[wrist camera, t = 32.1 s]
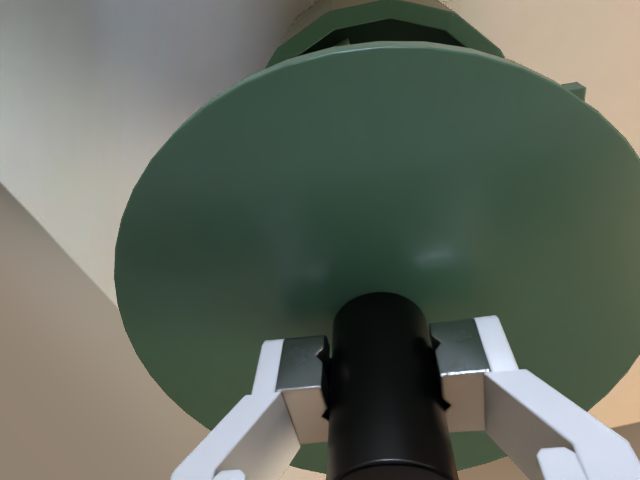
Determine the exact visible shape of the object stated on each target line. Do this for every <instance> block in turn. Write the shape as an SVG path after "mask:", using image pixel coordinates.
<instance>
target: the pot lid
mask: <svg viewBox="0 0 640 480" xmlns="http://www.w3.org/2000/svg"><path fill="white" fill-rule="evenodd" d="M114 280H115V288H116V295H117V303H118V307H119V311H120V314H121V317H122V320H123V324H124V327H125V330H126V332H127V335H128V337H129V339H130V341H131V343H132V345H133V348H134V349H135V352H136V354H137V355H138V357H139V359H140V360H141V362H142V363H143V364H144V366H145V368H146V369H147V371H148V372H149V374H150V375H151V377H152V378H153V379H154V380H155V381H156V382H157V383H158V385H159V386H160V387H161V388H162V390H163V391H164V392H165V393H166V394H167V395H168V396H169V397H170V398H171V399H172V400H173V401H174V402H175V403H176V404H177V405H178V406H180V407H181V408H182V409H183V410H184V411H185V412H186V413H187V414H189V415H190V416H191V417H193V418H194V419H195V420H197V421H198V422H199V423H201V424H202V425H203V426H205V427H206V428H208V429H209V430H211V431H212V430H213V429H214V428H215V427H216V426H217V425H218V424H219V423H220V421H221V420H222V419H223V418H224V417H225V416H226V415H227V414H228V413H229V412H230V411H231V410H232V409H233V408H234V407H235V406H236V405H237V403H238V402H239V401H240V400H241V399H242V398H243V397H244V396H245V395H251V393H252V389H253V384H254V379H255V375H256V370H257V366H258V361H259V356H260V352H261V347H262V345H263V343H264V342H265V341H266V340H279V339H285V338H296V337H308V336H319V335H326V336H327V338H328V342H329V345H330V358H331V379H330V403H329V426H328V442H321V443H312V444H302V445H300V449H299V450H298V452H297V453H296V455H295V457H294V458H293V460H292V461H291V463H290V464H289V465H290V466H293V467H297V468H300V469H305V470H310V471H315V472H319V473H324V474H326V480H459V479H458V474H457V471H459V470H463V469H467V468H471V467H474V466H478V465H482V464H486V463H489V462H492V461H495V460H497V459H500V458H503V457H506V456H507V455H506V454H505V453H504V451H503V450H502V449H501V448H500V447H499V446H498V445H497V444H496V443H495V442H494V441H493V440H492V439H491V438H490V437H489V436H488V435H487V433H486V431H468V432H449V430H448V425H447V420H446V415H445V410H444V405H443V400H442V395H441V390H440V385H439V381H438V376H437V371H436V366H435V361H434V356H433V351H432V346H431V340H430V334H429V323H436V322H444V321H453V320H461V319H470V318H472V319H473V318H476V317H484V316H492V315H496V316H497V317H498V318H499V321H500V323H501V326H502V328H503V331H504V333H505V336H506V338H507V341H508V343H509V346H510V348H511V351H512V353H513V356H514V358H515V361H516V363H517V366H518V368H519V370H520V369H527V370H528V371H530V372H531V373H533V374H534V375H535V376H537V377H538V378H540V379H541V380H542V381H544V382H545V383H547V384H548V385H549V386H551V387H552V388H554V389H555V390H557V391H558V392H559V393H561V394H562V395H564V396H565V397H566V398H568V399H569V400H571V401H572V402H574V403H575V404H576V405H578V406H579V407H581V408H582V409H583V410H585V411H586V412H587V411H589V410H590V409H591V408H592V407H593V406H594V405H595V404H597V403H598V402H599V401H600V400H601V399H602V398H604V397H605V396H606V395H607V394H608V393H609V392H610V391H611V390H612V389H613V387H614V386H615V385H616V384H617V383H618V382H619V381H620V380H621V379H622V378H623V377H624V375H625V374H626V373H627V372H628V371H629V369H630V368H631V366H632V365H633V363H634V362H635V361H636V359H637V358H638V356H639V355H640V158H639V157H638V155H637V154H636V152H635V151H634V149H633V148H632V147H631V145H630V144H629V142H628V141H627V139H626V138H625V137H624V136H623V135H622V134H621V133H620V132H619V131H618V130H617V129H616V128H615V127H614V126H613V125H612V124H611V123H610V122H609V121H608V120H606V119H605V118H604V117H603V116H602V115H601V114H600V113H599V112H598V111H597V110H596V109H594V108H593V107H591V106H590V105H588V104H587V103H586V102H584V101H583V100H581V99H580V98H578V97H577V96H576V95H574V94H573V93H571V92H570V91H568V90H567V89H565V88H564V87H563V86H561V85H560V84H558V83H557V82H555V81H554V80H552V79H550V78H548V77H546V76H544V75H542V74H539V73H537V72H535V71H533V70H531V69H529V68H527V67H525V66H523V65H521V64H519V63H516V62H514V61H511V60H508V59H505V58H501V57H498V56H495V55H491V54H488V53H485V52H481V51H478V50H475V49H472V48H465V47H459V46H452V45H445V44H439V43H432V42H425V41H375V42H367V43H359V44H352V45H344V46H336V47H330V48H327V49H323V50H319V51H316V52H312V53H308V54H305V55H301V56H298V57H294V58H290V59H287V60H285V61H282V62H280V63H278V64H275V65H273V66H271V67H269V68H266V69H264V70H262V71H259V72H257V73H255V74H252V75H250V76H248V77H246V78H244V79H243V80H241V81H240V82H238V83H236V84H235V85H233V86H232V87H230V88H228V89H227V90H225V91H223V92H222V93H220V94H219V95H217V96H215V97H214V98H212V99H211V100H210V101H209V102H207V103H206V104H205V105H204V106H203V107H202V108H200V109H199V110H198V111H197V112H196V113H194V114H193V115H192V116H191V117H190V118H189V119H187V120H186V121H185V122H184V123H183V124H182V125H181V126H180V127H179V128H178V129H177V130H176V131H175V133H174V134H173V135H172V136H171V137H170V138H169V140H168V141H167V142H166V143H165V144H164V145H163V146H162V148H161V149H160V150H159V151H158V152H157V153H156V155H155V156H154V157H153V158H152V159H151V161H150V162H149V164H148V166H147V167H146V169H145V171H144V172H143V174H142V175H141V177H140V179H139V180H138V182H137V184H136V185H135V187H134V189H133V191H132V193H131V196H130V198H129V201H128V203H127V206H126V208H125V211H124V214H123V216H122V219H121V223H120V228H119V233H118V237H117V242H116V247H115V269H114Z"/></svg>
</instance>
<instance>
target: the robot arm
mask: <svg viewBox="0 0 640 480" xmlns="http://www.w3.org/2000/svg"><path fill="white" fill-rule="evenodd" d="M429 334H430V340H431V346H432V351H433V356H434V361H435V366H436V371H437V376H438V381H439V385H440V390H441V395H442V400H443V405H444V410H445V415H446V420H447V425H448V430H449V432H468V431H486V433H487V435H488V436H489V437H490V438H491V439H492V440H493V441H494V442H495V443H496V444H497V445H498V446H499V447H500V448H501V449H502V450H503V451H504V453H505V454H506V455H507V456H508V457H509V458H510V459H511V460H512V461H513V462H514V463H515V464H516V465H517V466H518V467H519V468H520V469H521V471H522V472H523V473H525V475H526V476H527V477H528V478H529V479H530V480H640V462H639V460H638V458H637V456H636V455H635V453H634V451H633V449H632V447H631V446H630V444H629V442H628V441H627V440H626V439H624V438H623V437H621V436H620V435H619V434H617V433H616V432H614V431H613V430H612V429H610V428H609V427H607V426H606V425H605V424H603V423H602V422H600V421H599V420H598V419H596V418H595V417H593V416H592V415H590V414H589V413H588V412H586V411H585V410H583V409H582V408H581V407H579V406H578V405H576V404H575V403H574V402H572V401H571V400H569V399H568V398H566V397H565V396H564V395H562V394H561V393H559V392H558V391H557V390H555V389H554V388H552V387H551V386H549V385H548V384H547V383H545V382H544V381H542V380H541V379H540V378H538V377H537V376H535V375H534V374H533V373H531V372H530V371H528V370H527V369H520V370H519V368H518V366H517V363H516V361H515V358H514V356H513V353H512V351H511V348H510V346H509V343H508V341H507V338H506V336H505V333H504V331H503V328H502V326H501V323H500V321H499V318H498V317H497V316H496V315H492V316H484V317H476V318H473V319H472V318H470V319H461V320H453V321H444V322H436V323H429ZM330 379H331V358H330V345H329V342H328V338H327V336H326V335H319V336H308V337H296V338H285V339H279V340H266V341H265V342H264V343H263V345H262V347H261V352H260V356H259V361H258V366H257V370H256V375H255V379H254V384H253V389H252V393H251V395H245V396H244V397H243V398H242V399H241V400H240V401H239V402H238V403H237V405H236V406H235V407H234V408H233V409H232V410H231V411H230V412H229V413H228V414H227V415H226V416H225V417H224V418H223V419H222V420H221V421H220V423H219V424H218V425H217V426H216V427H215V428H214V429H213V430H212V431H211V432H210V433H209V434H208V435H207V436H206V437H205V438H204V439H203V441H202V442H201V443H200V444H199V445H198V446H197V447H196V448H195V449H194V450H193V451H192V452H191V453H190V454H189V455H188V457H186V458H185V460H184V461H183V462H182V463H181V464H180V465H179V466H178V467H177V468H176V469H175V470H174V471H173V473H172V475H171V478H170V480H280V479H281V477H282V475H283V474H284V472H285V471H286V469H287V468H288V466H289V464H290V463H291V461H292V460H293V458H294V457H295V455H296V453H297V452H298V450H299V449H300V445H302V444H312V443H321V442H328V426H329V403H330Z"/></svg>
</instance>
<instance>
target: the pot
mask: <svg viewBox="0 0 640 480" xmlns="http://www.w3.org/2000/svg"><path fill="white" fill-rule="evenodd" d="M347 38H348V39H349V43H350V45H352V44H359V43H367V42H375V41H425V42H432V43H439V44H445V45H452V46H459V47H465V48H472V49H475V50H478V51H481V52H485V53H488V54H491V55H495V56H498V57H501V58H505V57H504V55H503V53H502V52H501V50H500V49H499V48H498V47H497V46H496V45H494V44H493V43H492V42H491V41H489V40H488V39H487V38H486V37H485V36H483V35H482V34H481V33H480V32H478V31H477V30H476V29H475V28H473V27H472V26H471V25H470V24H469V23H467V22H466V21H465V20H464V19H462V18H461V17H460V16H459V15H458V14H456V13H455V12H454V11H452V10H451V9H449V8H448V7H447V6H445V5H444V4H442V3H441V2H440V1H438V0H319V1H317V2H316V3H315V4H313V5H312V6H311V7H310V8H309V9H307V10H306V11H305V12H303V13H302V14H301V15H299V16H298V17H297V18H296V20H295V21H294V23H293V24H292V26H291V27H290V29H289V30H288V32H287V33H286V35H285V37H284V38H283V40H282V41H281V43H280V44H279V46H278V47H277V49H276V51H275V52H274V54H273V56H272V57H271V59H270V61H269V63H268V64H267V66H266V68H269V67H271V66H273V65H275V64H278V63H280V62H282V61H285V60H287V59H290V58H294V57H298V56H301V55H305V54H308V53H312V52H316V51H319V50H323V49H327V48H330V47H333V46H335V45H337V44H339V43H340V42H342V41H344V40H345V39H347ZM266 68H265V69H266ZM561 86H563V87H564V88H565V89H567V90H568V91H570V92H571V93H573V94H574V95H576V96H577V97H578V98H580V99H581V100H583V101H584V102H585V95H586V87H584V86H582V85H581V84H579V83H578V82H574V83H568V84H562V85H561Z"/></svg>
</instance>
